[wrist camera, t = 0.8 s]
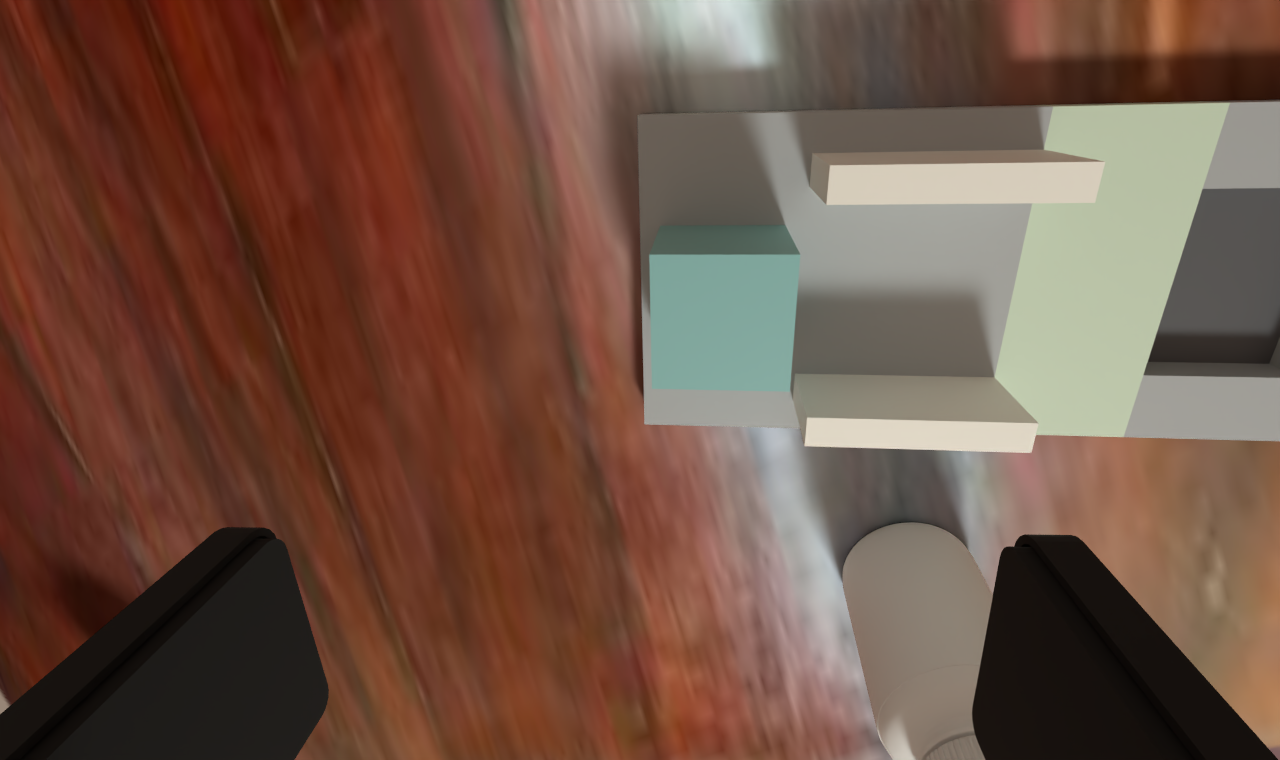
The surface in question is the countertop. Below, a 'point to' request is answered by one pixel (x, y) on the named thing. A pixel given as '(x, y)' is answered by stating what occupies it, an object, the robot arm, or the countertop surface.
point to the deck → (994, 268)
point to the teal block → (723, 307)
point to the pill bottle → (919, 637)
